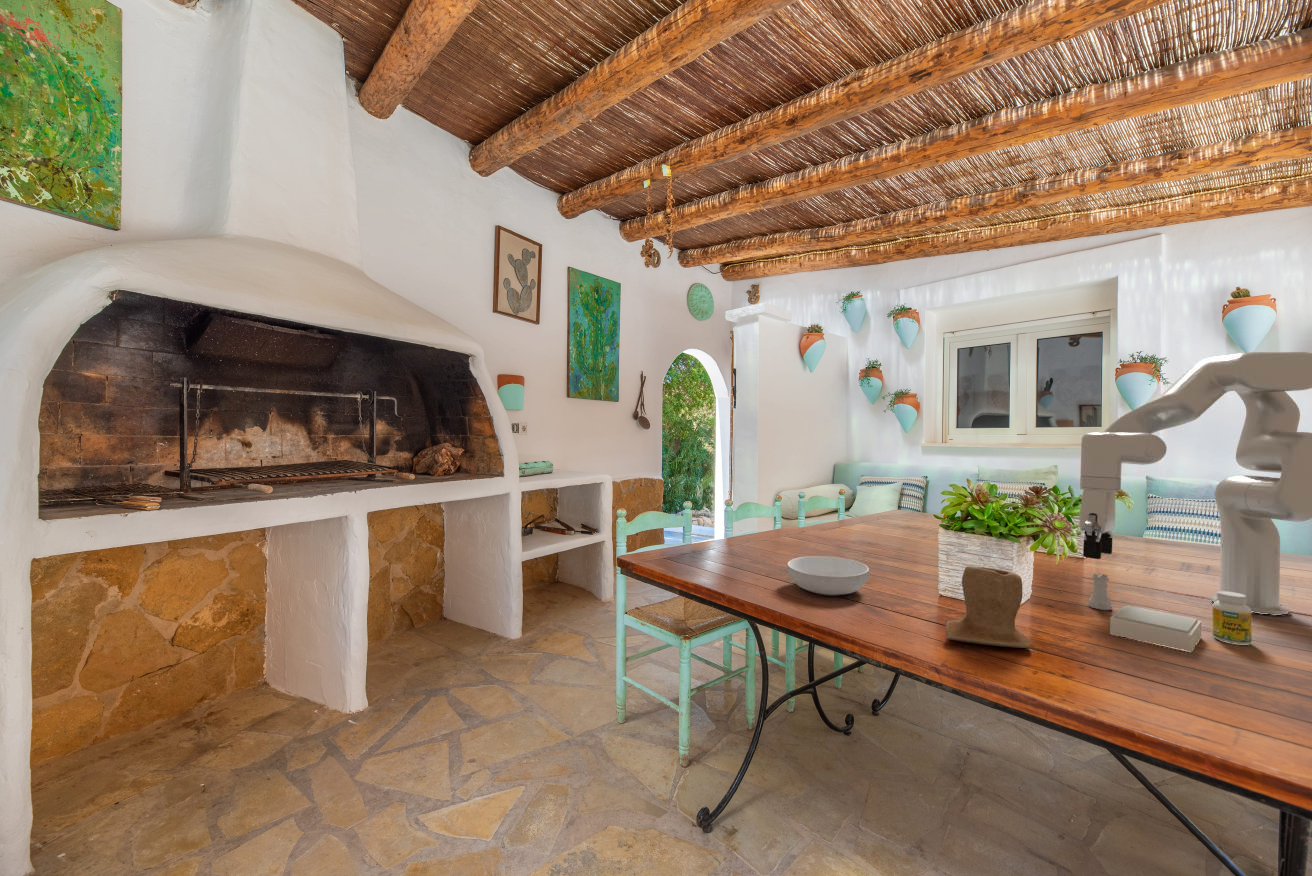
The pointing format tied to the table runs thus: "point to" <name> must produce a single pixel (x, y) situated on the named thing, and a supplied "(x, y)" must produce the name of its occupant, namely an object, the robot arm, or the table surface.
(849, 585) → the serving bowl
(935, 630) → the table surface
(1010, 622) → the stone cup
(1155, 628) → the plinth
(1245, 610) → the supplement bottle
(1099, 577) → the rook chess piece
